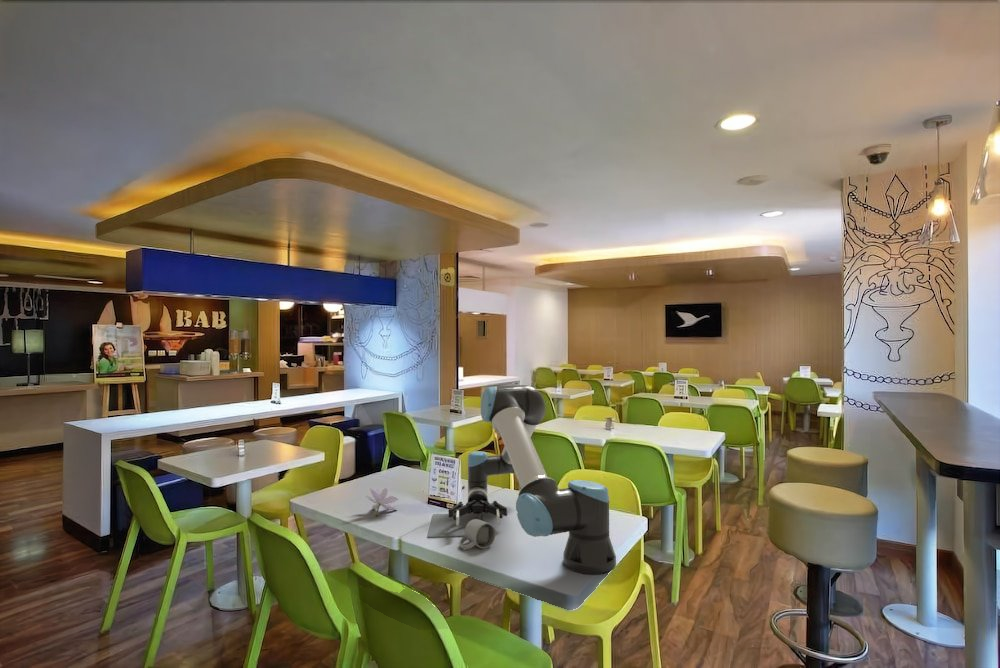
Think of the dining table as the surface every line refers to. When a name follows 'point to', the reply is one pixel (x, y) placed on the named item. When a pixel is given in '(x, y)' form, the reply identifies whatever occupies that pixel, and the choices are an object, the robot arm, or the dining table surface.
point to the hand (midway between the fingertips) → (477, 520)
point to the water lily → (382, 499)
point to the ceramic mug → (478, 534)
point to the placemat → (450, 525)
